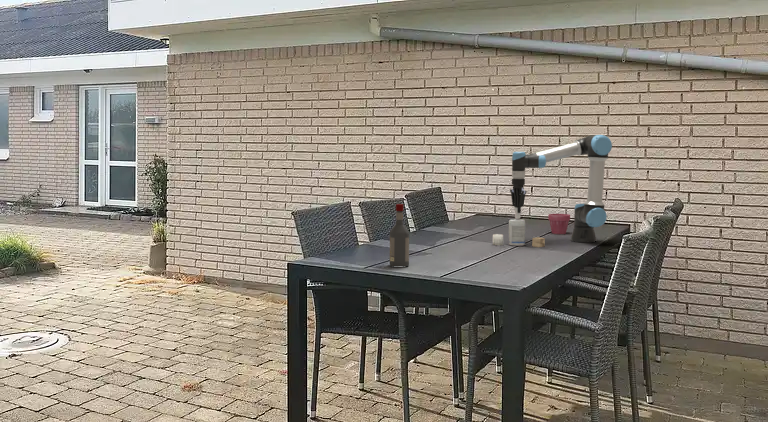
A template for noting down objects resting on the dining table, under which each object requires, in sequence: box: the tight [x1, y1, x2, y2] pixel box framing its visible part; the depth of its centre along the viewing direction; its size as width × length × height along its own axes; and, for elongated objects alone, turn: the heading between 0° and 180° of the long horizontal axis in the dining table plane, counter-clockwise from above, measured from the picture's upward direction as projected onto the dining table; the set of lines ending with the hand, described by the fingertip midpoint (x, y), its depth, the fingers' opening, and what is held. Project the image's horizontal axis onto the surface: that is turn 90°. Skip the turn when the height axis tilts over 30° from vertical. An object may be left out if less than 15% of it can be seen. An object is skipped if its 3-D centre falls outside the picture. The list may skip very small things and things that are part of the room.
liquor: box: [389, 203, 410, 267], centre depth 345 cm, size 9×9×30 cm
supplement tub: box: [508, 219, 526, 247], centre depth 420 cm, size 10×10×15 cm
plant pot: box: [547, 213, 571, 235], centre depth 474 cm, size 14×14×13 cm
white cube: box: [492, 233, 504, 247], centre depth 420 cm, size 6×6×6 cm
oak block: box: [531, 236, 546, 248], centre depth 415 cm, size 5×5×5 cm
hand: (517, 218), depth 419 cm, fingers closed
